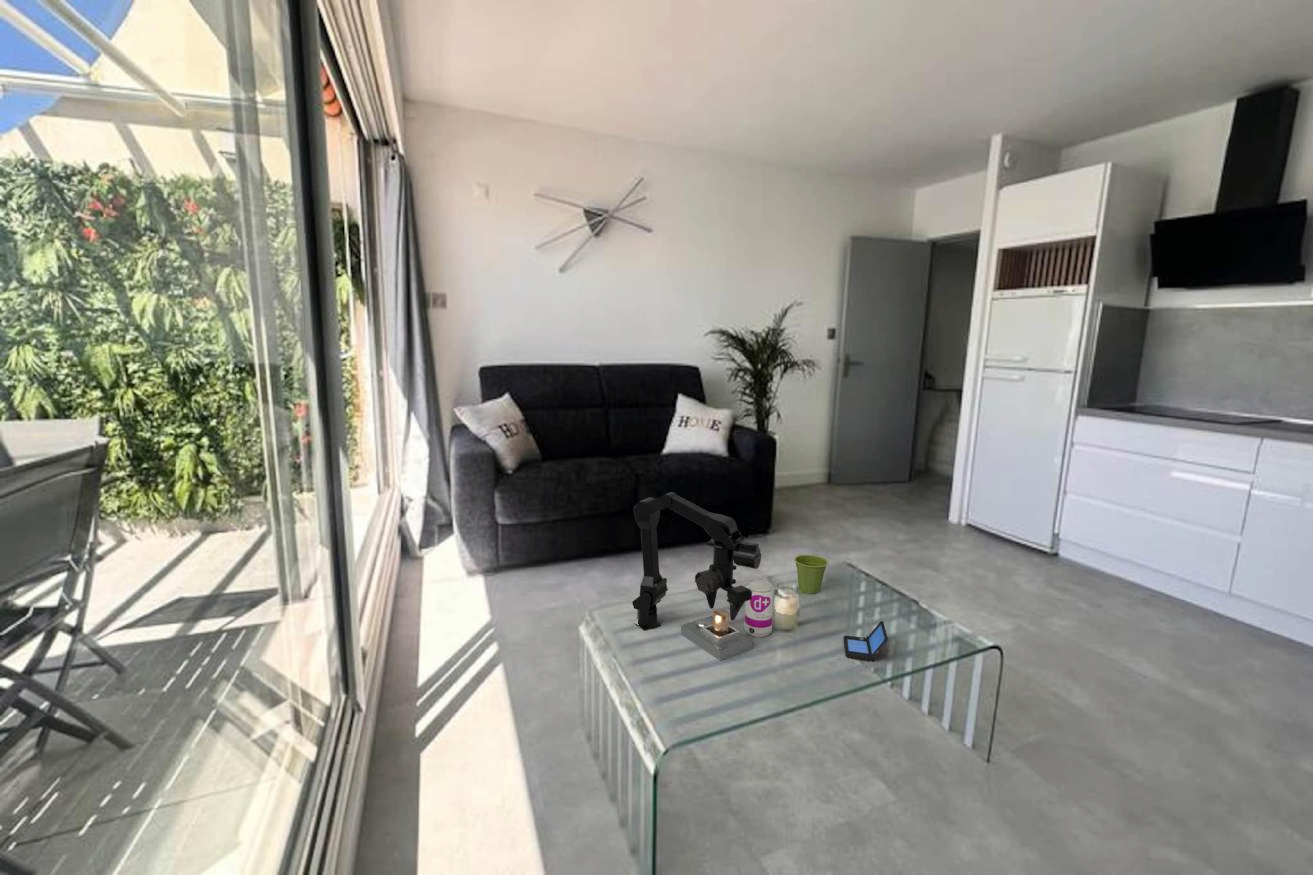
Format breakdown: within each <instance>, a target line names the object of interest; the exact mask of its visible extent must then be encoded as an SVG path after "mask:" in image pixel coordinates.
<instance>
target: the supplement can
mask: <svg viewBox="0 0 1313 875" xmlns="http://www.w3.org/2000/svg"><path fill="white" fill-rule="evenodd" d="M745 587H746V588H748V589H750V590H751V591H752V599H751V600H748V601H745V602H744V623H743V625H744V631H745V632H746V633H747V634H748V635H750V636H753V637H756V638H763V637H768V636H769V635H770V634H772V632H773V618H774V617H773V616H774V615H773V614H774V612H773V611H774V608H773V607H774V594H775V593H774V588H773V586H772V583H770V582H769V581H766V580H763V579H753V580H750V581H748V583H747V585H746V586H745Z"/></svg>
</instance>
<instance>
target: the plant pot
mask: <svg viewBox="0 0 1313 875" xmlns="http://www.w3.org/2000/svg"><path fill="white" fill-rule="evenodd" d="M793 560H794V562H795V567H796V572H797V581H798V582H797V584H798V588H799V590H800V592H802V593H803V594H804V593H805V594H809V595H812V594H819V593H820V591H821V587H822V584H823V579H824V575H825V571H826V569H827V566H828V565H829V561H828V560H827V559H826V558H825V557H821V556H818V555H811V554H802V555H801V554H800V555H797V556H794V559H793Z"/></svg>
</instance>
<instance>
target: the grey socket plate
mask: <svg viewBox="0 0 1313 875" xmlns="http://www.w3.org/2000/svg"><path fill="white" fill-rule="evenodd" d="M680 635H681V636H683V637H684V638H686V639H687V640H688V641H690V642H692V643H693V644H694V645H696V646H697V647H698V648H701V649H702V650H703V651H705V652H706V653H708V654H709V655H710V656H712V657H714V658H715V659H717V660H718V661H723V660H726V659H729V658H731V657H734V656H737V655H739V654H742V653H745V652H748V651H750V650H753V643H754V641H753V638H752V637H750V636H748V635H746V634H744V633H743V632H742V631H739V630H738V629H736V628H734V627H732V626H731V625H729V627H728V634H727V635H724V636H721V637H718V636H717V635H715V634H713V615H709V616H706V617H702V618H698V619H697V620H694V621H693V620H692V621H690V622H687V623H683V624H681V625H680Z"/></svg>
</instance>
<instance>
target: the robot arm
mask: <svg viewBox="0 0 1313 875" xmlns="http://www.w3.org/2000/svg"><path fill="white" fill-rule="evenodd" d="M665 509H669V510H671V511H673V512H675V513H676V514H678V515H680V516H682V517H684V518H686V519H688V520H690V521H692V522H693V523H695V524H697V525H698V526H700V527H702V528H703V529H704V531H705V532H706V533H707V534H708V535H709V536H710V537H711V539H710V540H709V541H707V542H705V543H706V546H709V547H713V550H712V551H713V555H712V556H713V557H712V563H711V564H709V566H708V569H707V570H703V571H699V572H696V574H695V576H694V583H696V587H697V590H698V591H699V592H702V593H703V594H704V595H705V596H706V600H707V604H708V607H709V609H711V610H713V609H714V607H715V604H716V600H717V599H716V598H717V594H718V590H720V589H722V590H723V591H725V592H726V597H727V599H726V602H727V603H728V604H729V619H730V621H735V619H736V617H737V616H738V614H739V612H740V610H741V608H742V607H743V605H745V601H748V600H751V599H752V591H751V590H750V589H748V588H746V587H747V586H744V585H737V586H733V585H735V584H736V582H737V579H735V578H734V571H735V570H737V566H739V567H743V568H748V569H754V570H758V569H759V568H760V565H761V561H762V553H761V549H760V548H759V545H760V544H759V543H756V542H745V538H744V536H743V535H742V533H741V532H740V530H739V529H738V525H737V523H736V520H735V519H734V518H732V517H730V516H727V515H724V514H721V513H715V512H714V513H713V512H710V511H708V510H707V509H704V508H703V507H700V506H699V505H696V504H695V503H693V502H691V501H689V500H687V499H686V498H684V497H681V496H680V495H678V494H677V493H676V492H674V491H672V492H668V493H665V494H663V495H662V496H660V497H657V498H655V497H652V496H651V497H647V498H645V499H643V500H640V501H638V502H637V503H635V505H634V507H633V514H634V518H635V522H636V524H637V525H638V527H639V529H640V537H641V541H640V542H641V550H642V551H641V554H642V555H641V556H642V567H643V577H642V579H641V583H640V587H639V596H637V598H635V599H634V600H633V601H632V602H631V603H632V607H633V609H634V610H637V612H636V615H637V616H636V617H637V619H638V624H639V626H640V627H639V628H640V629H641V628H642V629H643V631H646V630H647V631H648V630H651V629H653V628H657V627H661V625H662V623H661V622H659V621H658V607H657V604H659V603H660V602H662V599H663V598H664V597H665V596H666V595H667V591H668V590H669V588H668V586H667V583H668V580H667V579H668V578H667V577H663V576H662V575H661V572H660V562H659V561H660V560H659V548H658V546H659V545H658V533H657V531H658V530H657V527H658V523H659V522H660V519H661V518H660V517H661V511H662V510H665ZM731 537H732V538H731ZM637 619H636V620H637ZM656 626H657V627H656ZM642 629H641V630H642Z"/></svg>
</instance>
